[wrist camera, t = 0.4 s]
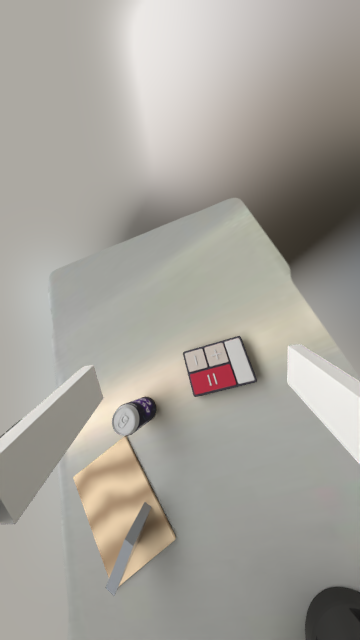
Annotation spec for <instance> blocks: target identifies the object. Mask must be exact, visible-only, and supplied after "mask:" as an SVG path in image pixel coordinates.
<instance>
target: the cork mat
mask: <svg viewBox="0 0 360 640" xmlns="http://www.w3.org/2000/svg"><path fill="white" fill-rule="evenodd" d="M73 478H74V481H75V484H76V487H77V490H78V492H79V495H80V498H81V501H82V504H83V507H84V509H85V512H86V515H87V518H88V521H89V523H90V526H91V529H92V532H93V535H94V538H95V540H96V543H97V546H98V549H99V552H100V554H101V557H102V560H103V563H104V566H105V569H106V571H107V574H108V577H109V578H110V575H111V573H112V570H113V568H114V565H115V562H116V560H117V557H118V555H119V552H120V550H121V547H122V545H123V542H124V540H125V538H126V536H127V534H128V532H129V530H130V528H131V526H132V524H133V523H134V521H135V519H136V517H137V515H138V513H139V511H140V509H141V508H142V506H143V504H144V502H146V503H147V504H148V505H150V506H151V510H150V512H149V515H148V518H147V520H146V523H145V526H144V528H143V531H142V533H141V536H140V539H139V541H138V544H137V546H136V548H135V551H134V553H133V555H132V557H131V560H130V562H129V564H128V566H127V569H126V571H125V573H124V575H123V578H122V580H121V582H120V584H119V586H120V585H121V584H122V583H123V582H125V581H126V580H127V579H128V578H129V577H131V576H132V575H133V574H134V573H135V572H137V571H138V570H139V569H140V568H141V567H143V566H144V565H145V564H146V563H148V562H149V561H150V560H151V559H152V558H154V557H155V556H156V555H157V554H158V553H160V552H161V551H162V550H163V549H164V548H166V547H167V546H168V545H169V544H170V543H172V542H173V541H174V540H175V539H176V536H175V534H174V532H173V530H172V528H171V526H170V524H169V522H168V520H167V518H166V516H165V514H164V512H163V510H162V508H161V506H160V504H159V502H158V500H157V498H156V496H155V494H154V492H153V490H152V487H151V485H150V483H149V481H148V479H147V477H146V475H145V473H144V471H143V469H142V467H141V465H140V463H139V461H138V459H137V457H136V455H135V453H134V451H133V449H132V447H131V445H130V443H129V441H128V439H127V437H126V436H124V437H123V438H122V439H121V440H119V441H118V442H117V443H116V444H114V445H113V446H112V447H111V448H109V449H108V450H107V451H106V452H104V453H103V454H102V455H101V456H99V457H98V458H97V459H95V460H94V461H93V462H92V463H90V464H89V465H88V466H87V467H85V468H84V469H83V470H82V471H80V472H79V473H78V474H77V475H75V476H74V477H73Z"/></svg>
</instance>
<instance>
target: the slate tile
mask: <svg viewBox="0 0 360 640" xmlns="http://www.w3.org/2000/svg"><path fill="white" fill-rule="evenodd" d="M150 510H151V506H150V505H148V504H147V503H146V502H144V504H143V506H142V508H141V509H140V511H139V513H138V515H137V517H136V519H135V521H134V523H133V524H132V526H131V528H130V530H129V532H128V534H127V536H126V538H125V540H124V542H123V545H122V547H121V550H120V552H119V555H118V557H117V560H116V562H115V565H114V568H113V570H112V573H111V575H110V578H109V580H108V583H107V585H106V589H107V590H108V591H109V592H110V593H111V594H112V595H113V596H115V593H116V591H117V589H118V587H119V584H120V582H121V580H122V578H123V575H124V573H125V571H126V569H127V566H128V564H129V562H130V560H131V557H132V555H133V553H134V551H135V548H136V546H137V544H138V541H139V539H140V536H141V533H142V531H143V528H144V526H145V523H146V520H147V518H148V515H149V512H150Z"/></svg>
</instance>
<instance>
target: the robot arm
mask: <svg viewBox="0 0 360 640" xmlns="http://www.w3.org/2000/svg"><path fill="white" fill-rule="evenodd" d="M287 383H288V384H289V385H290V386H291V388H292V389H293V390H294V391H295V392H296V393H297V394H298V395H299V397H300V398H301V399H302V400H303V401H304V402H305V403H306V404H307V406H308V407H309V408H310V409H311V410H312V411H313V412H314V413H315V415H316V416H317V417H318V418H319V419H320V420H321V421H322V422H323V424H324V425H325V426H326V427H327V428H328V429H329V430H330V431H331V432H332V434H333V435H334V436H335V437H336V438H337V439H338V440H339V441H340V443H341V444H342V445H343V446H344V447H345V448H346V449H347V450H348V452H349V453H350V454H351V455H352V456H353V457H354V458H355V459H356V461H357V462H358V463H359V464H360V381H358V380H357V379H355V378H354V377H352V376H350V375H349V374H347V373H346V372H344V371H343V370H341V369H339V368H338V367H336V366H335V365H333V364H332V363H330V362H328V361H327V360H325V359H324V358H322V357H320V356H319V355H317V354H316V353H314V352H313V351H311V350H309V349H308V348H306V347H305V346H303V345H302V344H295V345H288V371H287ZM102 399H103V395H102V392H101V389H100V385H99V382H98V379H97V375H96V372H95V369H94V365H92V366H83V367H82V368H81V369H80V370H79V371H77V372H76V373H75V374H74V375H73V376H72V377H70V378H69V379H68V380H67V381H66V382H65V383H63V384H62V385H61V386H60V387H59V388H58V389H57V390H55V391H54V392H53V393H52V394H51V395H50V396H48V398H46V399H45V400H44V401H43V402H42V403H40V404H39V405H38V406H37V407H36V408H35V409H34V410H32V411H31V412H30V413H29V414H28V415H26V416H25V417H24V418H23V419H21V420H20V421H18V422H17V423H16V424H15V425H13V426H12V427H11V428H10V429H9V430H8V431H7V432H6V433H5V434H3V435H2V436H1V437H0V524H16V523H17V521H18V520H19V518H20V517H21V515H22V514H23V512H24V511H25V509H26V508H27V507H28V505H29V504H30V502H31V501H32V500H33V498H34V497H35V495H36V494H37V492H38V491H39V489H40V488H41V487H42V485H43V484H44V482H45V481H46V480H47V478H48V477H49V475H50V474H51V472H52V471H53V469H54V468H55V467H56V465H57V464H58V462H59V461H60V460H61V458H62V457H63V455H64V454H65V452H66V451H67V450H68V448H69V447H70V445H71V444H72V442H73V441H74V440H75V438H76V437H77V435H78V434H79V432H80V431H81V429H82V428H83V427H84V425H85V424H86V422H87V421H88V419H89V418H90V417H91V415H92V414H93V412H94V411H95V409H96V408H97V407H98V405H99V404H100V402H101V401H102ZM305 635H306V640H360V593H358V592H356V591H354V590H351V589H347V588H341V587H335V588H329V589H326V590H324V591H322V592H321V593H319V594H318V595H317V596H316V597H315V598H314V599H313V601H312V602H311V604H310V606H309V609H308V612H307V616H306V624H305Z"/></svg>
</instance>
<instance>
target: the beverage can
mask: <svg viewBox="0 0 360 640" xmlns="http://www.w3.org/2000/svg"><path fill="white" fill-rule="evenodd" d="M155 413H156V405H155V403H154V401H153V400H152V399H151V398H149V397H143V398H140V399H137V400H134V401H132V402H129V403H126V404H123V405H121V406H120V407H119V408H118V409H117V411H116V412H115V413H114V415H113V418H112V426H113V429H114V431H115V432H116V433H117V434H119V435H123V436H124V435H125V436H128V435H131V434H133V433H134V432H136V431H137V430H138V429H139V428H141V427H142V426H143V425H145V424H146V423H147V422H149V421H150V420H151V419H152V418H153V417H154V415H155Z"/></svg>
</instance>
